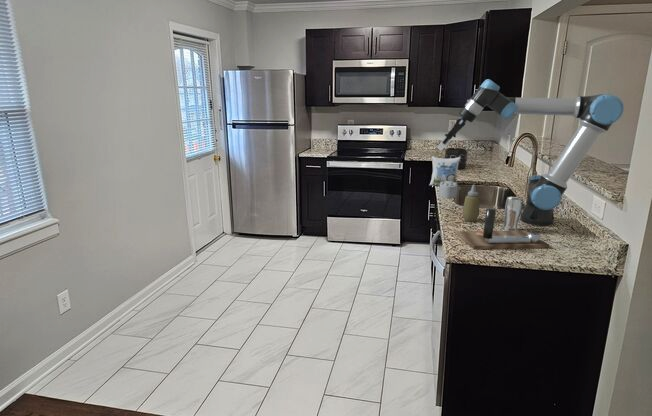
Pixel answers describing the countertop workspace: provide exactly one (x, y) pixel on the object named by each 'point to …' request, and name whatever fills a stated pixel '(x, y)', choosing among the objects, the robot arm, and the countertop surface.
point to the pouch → (444, 170)
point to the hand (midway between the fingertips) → (440, 147)
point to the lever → (504, 239)
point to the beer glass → (512, 213)
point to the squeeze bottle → (471, 205)
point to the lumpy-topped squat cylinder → (448, 189)
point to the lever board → (478, 242)
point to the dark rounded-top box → (455, 154)
